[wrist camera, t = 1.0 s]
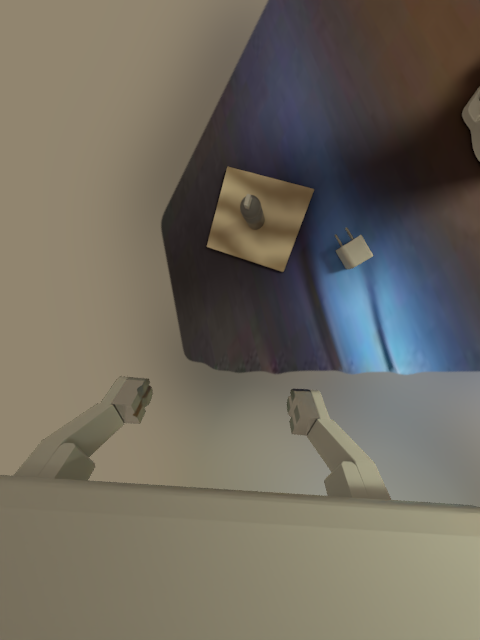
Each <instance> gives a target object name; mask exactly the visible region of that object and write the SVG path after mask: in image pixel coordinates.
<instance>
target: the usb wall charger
mask: <svg viewBox="0 0 480 640" xmlns="http://www.w3.org/2000/svg"><path fill="white" fill-rule="evenodd" d="M345 229H346V231H347V233H348V235H349V236H350V238H351V240H352V241H350V242H349V243H347V244H345V245H344V246H343V245H342V243H341V241H340V240H339V238H338V236H337V235H335V237H336V239H337V241H338V242H339V244H340V246H341V248H339V249H337V250H336V253H337V254H338V256H339V258H340V259H341V261H342V263H343V265H344V266H345V268H346V269H351V268H354V267H356V266H357V265H359V264H361V263H362V262H364V261H366V260H368V259H369V258H371V257H372V256H373V254H372V252H371V251H370V249H369V247H368V246H367V244H366V242H365V240H364V239H363V237H362V235H360V236H358V237H357V238H355V239H354V238H353V237H352V235H351V233H350V231H349V230H348V228H347V227H346V228H345Z"/></svg>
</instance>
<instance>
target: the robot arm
mask: <svg viewBox="0 0 480 640" xmlns="http://www.w3.org/2000/svg"><path fill="white" fill-rule="evenodd" d="M479 99H480V86H479V88H478V89H477V90H476V92H475V93H474V95H473V96H472V97H471V99H470V100H469V102H468V103H467V104H466V106H465V107H464V109H463V111H462V117H463V120H464V122H465V123H466V125H467V126H468V127H469V129H470V131H471V137H472V146H473V150H474V153H475V155H476V157H477V159H478V160H479V161H480V101H479ZM149 383H150V381H149V379H145V378H133V377H121V376H120V377H119V378H118V379H117V380H116V381H115V383H114V384H113V386H112V387H111V388H110V390H109V391H108V393H107V394H106V396H105V397H104V399H103V400H102V401H101V403H100V404H96V405H94V406H93V407H91V408H90V409H88V410H87V411H85V412H84V413H82V414H81V415H79V416H78V417H76V418H75V419H73V420H72V421H70V422H69V423H67V424H66V425H64V426H63V427H62V428H60V429H58V430H57V431H55V432H54V433H52V434H51V435H50V436H48V437H46V438H45V439H43V440H42V441H41V443H40V444H39V445H38V446H37V447H36V449H35V450H34V451H33V452H32V453H31V455H30V456H29V457H28V459H27V460H26V461H25V462H24V463H23V464H22V466H21V467H20V468H19V469H18V471H17V472H16V473H15V474H14V475H13V476H8V475H0V640H480V507H477V506H472V505H460V504H445V503H430V502H429V503H428V502H414V501H398V500H391V498H390V496H389V493H388V491H387V489H386V487H385V485H384V483H383V480H382V479H381V476H380V474H379V472H378V470H377V467H376V465H375V463H374V462H373V461H372V460H371V459H370V458H369V457H368V456H367V455H366V454H365V453H364V451H362V449H361V448H360V447H359V446H358V445H357V444H356V443H355V442H354V441H353V440H352V439H351V438H350V437H349V436H348V435H347V434H346V433H345V432H344V431H343V430H342V429H341V428H340V427H339V426H338V425H337V424H336V423H335V421H334V420H330V418H329V415H328V412H327V410H326V407H325V404H324V401H323V398H322V396H321V393H320V392H319V391H318V390H307V389H292V390H291V392H290V394H291V396H289V397H288V400H287V411H288V414H289V415H290V417H291V419H290V421H289V422H290V428H291V433H292V434H297V435H307V437H308V439H309V440H310V442H311V443H312V444H313V446H314V447H315V448H316V450H317V452H318V453H319V454H320V456H321V457H322V459H323V460H324V462H325V463H326V464H327V466H328V467H329V469H330V470H331V472H332V473H331V474H330V475H329V476H328V477H327V478H326V479H325V480H324V483H325V487H326V491H327V495H328V496H320V495H303V494H289V493H273V492H258V491H242V490H227V489H210V488H195V487H180V486H164V485H148V484H133V483H132V484H131V483H117V482H102V481H88V479H89V477H90V475H91V474H92V472H93V470H94V468H95V463H94V462H93V461H92V460H91V459H90V458H89V457H90V456H91V455H92V454H93V453H94V452H95V451H96V450H97V449H98V448H99V447H100V446H101V445H102V444H103V443H105V442H106V441H107V440H108V439H109V438H110V437H111V436H112V435H113V434H114V433H115V432H116V431H117V430H118V429H119V428H120V427H122V426H123V425H124V423H134V424H140V423H141V420H142V418H143V416H144V414H145V412H146V411H145V407H146V406H147V405H148V404H149V403H150V401H151V398H152V387H151V386H149Z"/></svg>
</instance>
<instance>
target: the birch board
mask: <svg viewBox="0 0 480 640" xmlns="http://www.w3.org/2000/svg"><path fill="white" fill-rule="evenodd" d="M313 192H314V189H312V188H308V187H304V186H300V185H296V184H293V183H289V182H285V181H281V180H277V179H273V178H270V177H266V176H262V175H258V174H254V173H250V172H247V171H243V170H239V169H235V168H231V167H227V170H226V174H225V178H224V181H223V185H222V189H221V193H220V197H219V201H218V205H217V208H216V212H215V216H214V220H213V224H212V228H211V232H210V235H209V239H208V243H207V247H208V248H211V249H214V250H217V251H220V252H223V253H226V254H229V255H233V256H236V257H239V258H242V259H245V260H248V261H251V262H254V263H257V264H260V265H263V266H266V267H269V268H272V269H275V270H278V271H281V272H284V269H285V266H286V264H287V261H288V258H289V256H290V253H291V250H292V248H293V245H294V242H295V240H296V237H297V234H298V232H299V229H300V226H301V224H302V221H303V218H304V216H305V213H306V210H307V208H308V205H309V202H310V200H311V197H312V194H313ZM247 194H251V195H254V196H256V197H257V198H258V199H259V201H260V203H261V207H262V210H263V214H264V218H265V221H264V224H263V226H262V227H261V228H260V229H257V230H253V229H251V228H250V227H249V226H248V224H247V222H246V221H245V219H244V217H243V216H242V214H241V211H240V204H241V201H242V199H243V198H244V197H245V196H246V195H247Z"/></svg>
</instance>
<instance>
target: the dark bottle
mask: <svg viewBox="0 0 480 640" xmlns="http://www.w3.org/2000/svg"><path fill="white" fill-rule="evenodd" d="M240 211H241V214H242V216H243V217H244V219H245V221H246V222H247V224H248V226H249V227H250V228H251V229H253V230H257V229H260V228H261V227H262V226H263V224H264V221H265V218H264V214H263V210H262V207H261V203H260V201H259V199H258V198H257V197H256V196H254V195H251V194H247V195H246V196H245V197H244V198H243V199H242V201H241V204H240Z"/></svg>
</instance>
